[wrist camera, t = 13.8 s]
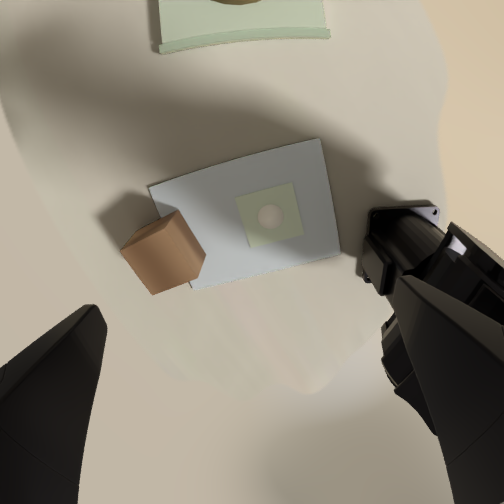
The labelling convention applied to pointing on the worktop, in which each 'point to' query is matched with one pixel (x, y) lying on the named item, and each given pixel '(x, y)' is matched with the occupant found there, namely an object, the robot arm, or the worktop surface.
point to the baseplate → (238, 22)
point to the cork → (236, 2)
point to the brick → (165, 253)
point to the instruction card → (256, 212)
